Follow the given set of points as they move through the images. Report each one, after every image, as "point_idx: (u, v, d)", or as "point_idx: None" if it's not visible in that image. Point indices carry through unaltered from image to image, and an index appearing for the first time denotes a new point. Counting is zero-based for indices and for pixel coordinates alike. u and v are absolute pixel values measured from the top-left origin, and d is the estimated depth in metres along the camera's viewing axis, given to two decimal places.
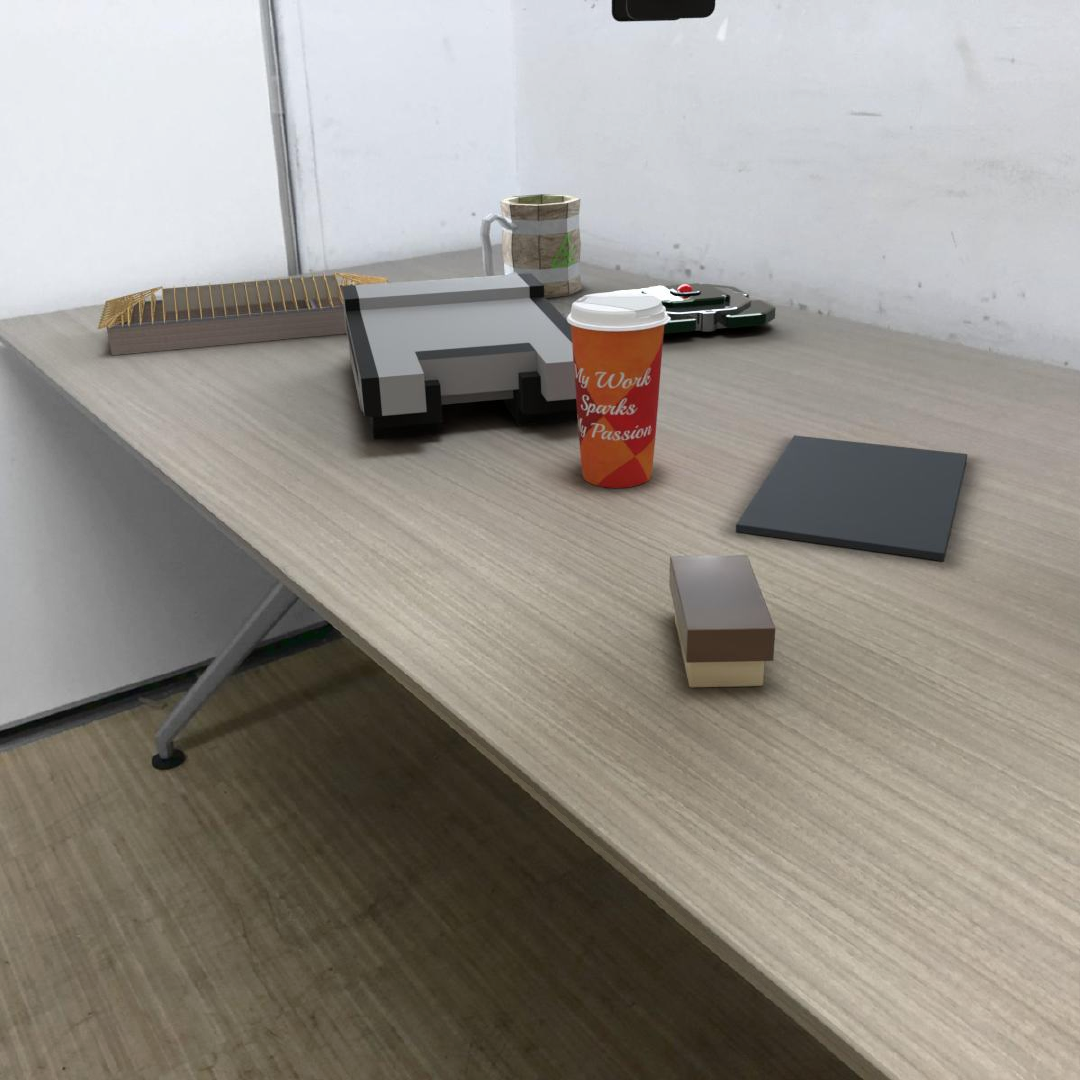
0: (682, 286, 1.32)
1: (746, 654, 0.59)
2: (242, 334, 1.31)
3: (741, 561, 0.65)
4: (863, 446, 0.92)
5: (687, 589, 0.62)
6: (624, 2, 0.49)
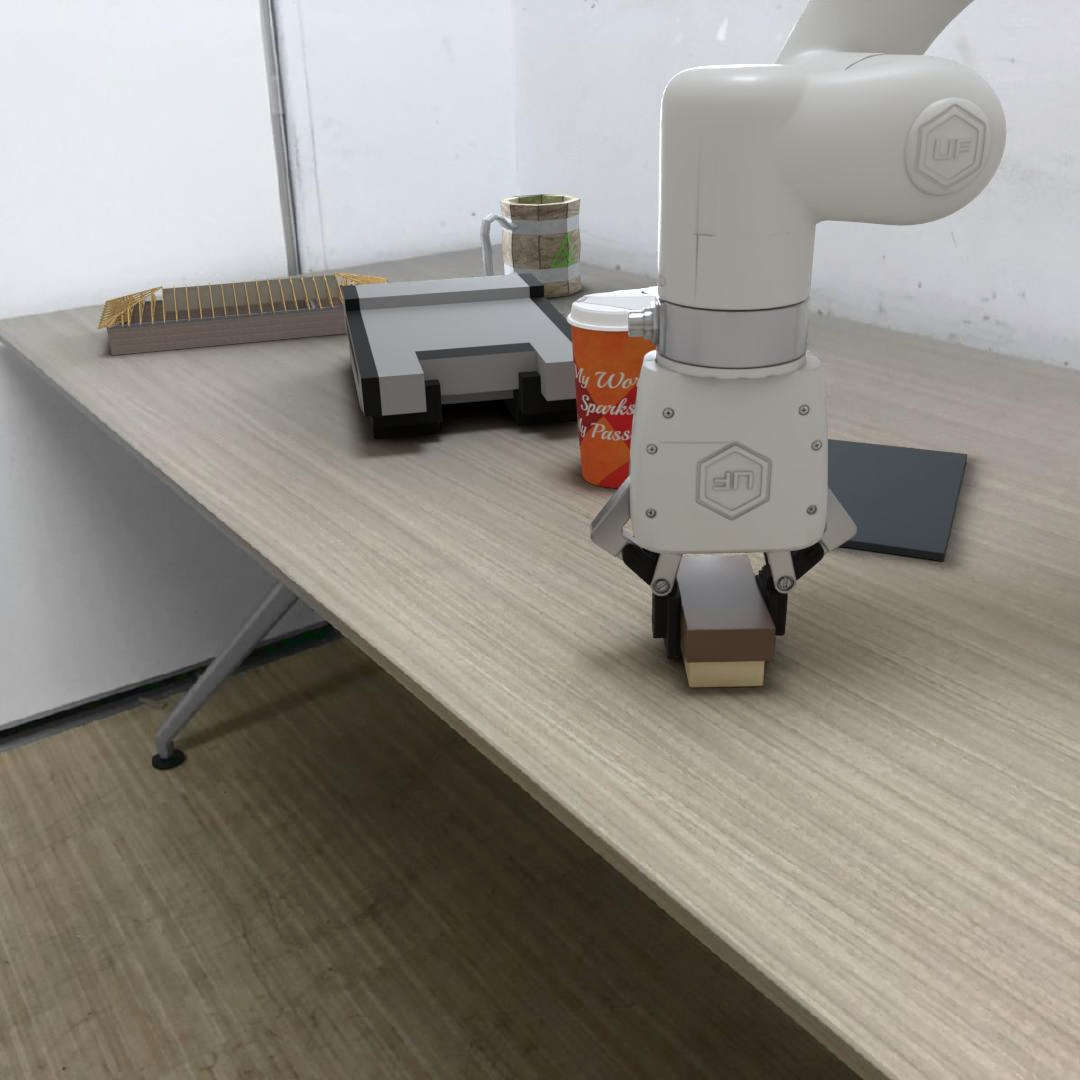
0: None
1: (746, 654, 0.59)
2: (242, 334, 1.31)
3: (741, 561, 0.65)
4: (863, 446, 0.92)
5: (687, 589, 0.62)
6: None
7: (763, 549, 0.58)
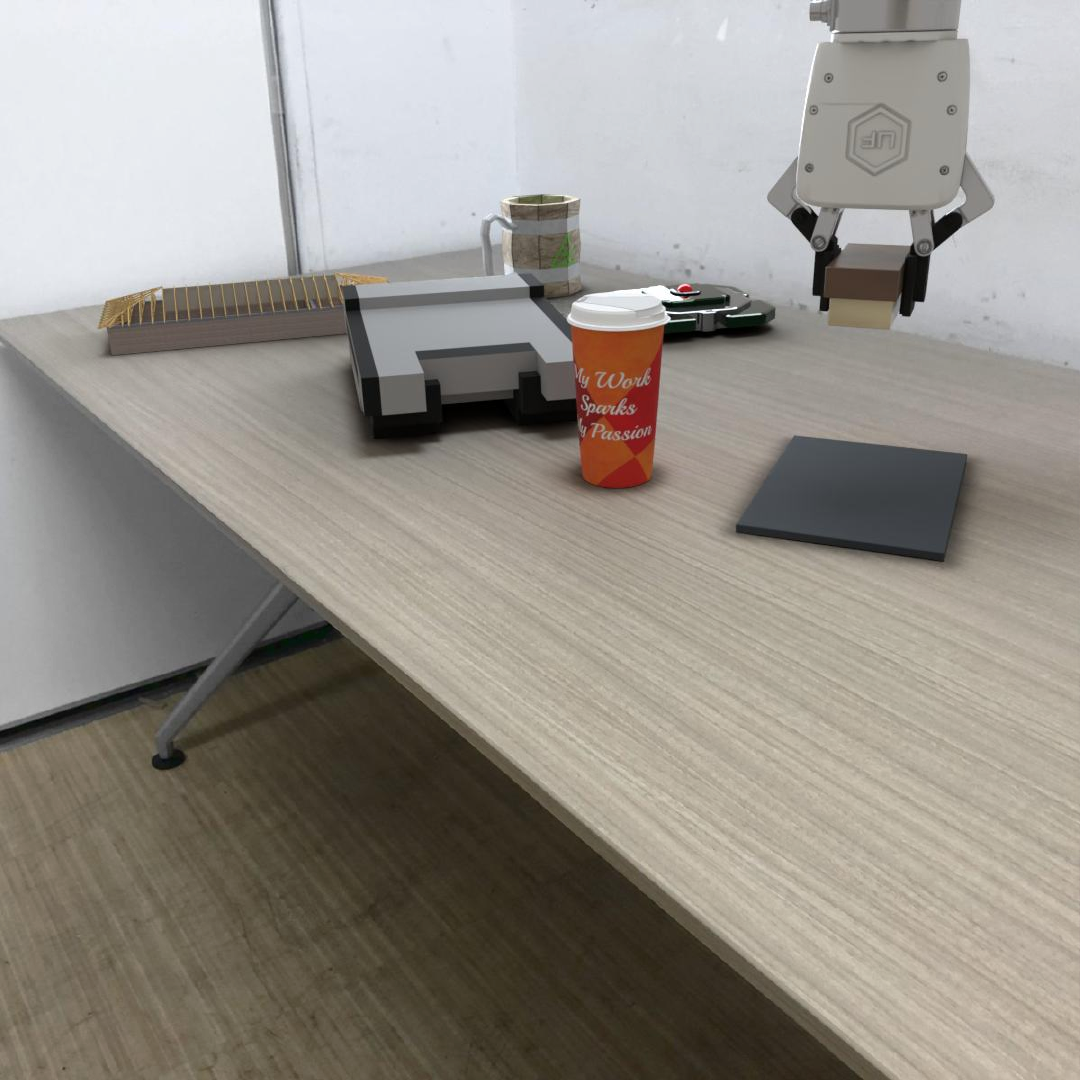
0: (682, 286, 1.32)
1: (873, 293, 0.71)
2: (242, 334, 1.31)
3: (906, 247, 0.77)
4: (863, 446, 0.92)
5: (845, 254, 0.75)
6: None
7: (900, 205, 0.70)
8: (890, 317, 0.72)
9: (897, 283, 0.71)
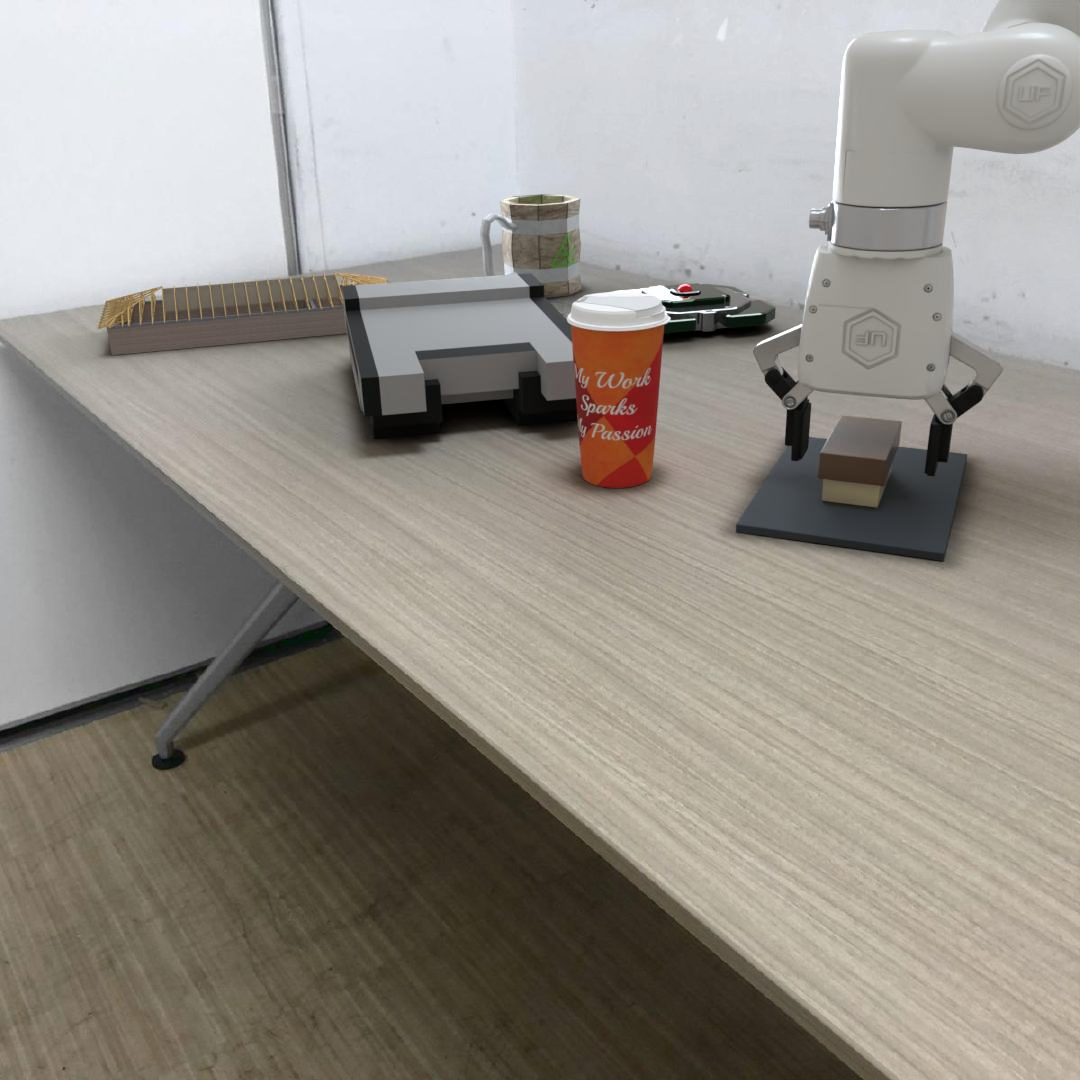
0: (682, 286, 1.32)
1: (862, 478, 0.79)
2: (242, 334, 1.31)
3: (893, 424, 0.85)
4: None
5: (838, 433, 0.83)
6: None
7: (891, 395, 0.78)
8: (878, 497, 0.80)
9: (884, 470, 0.78)
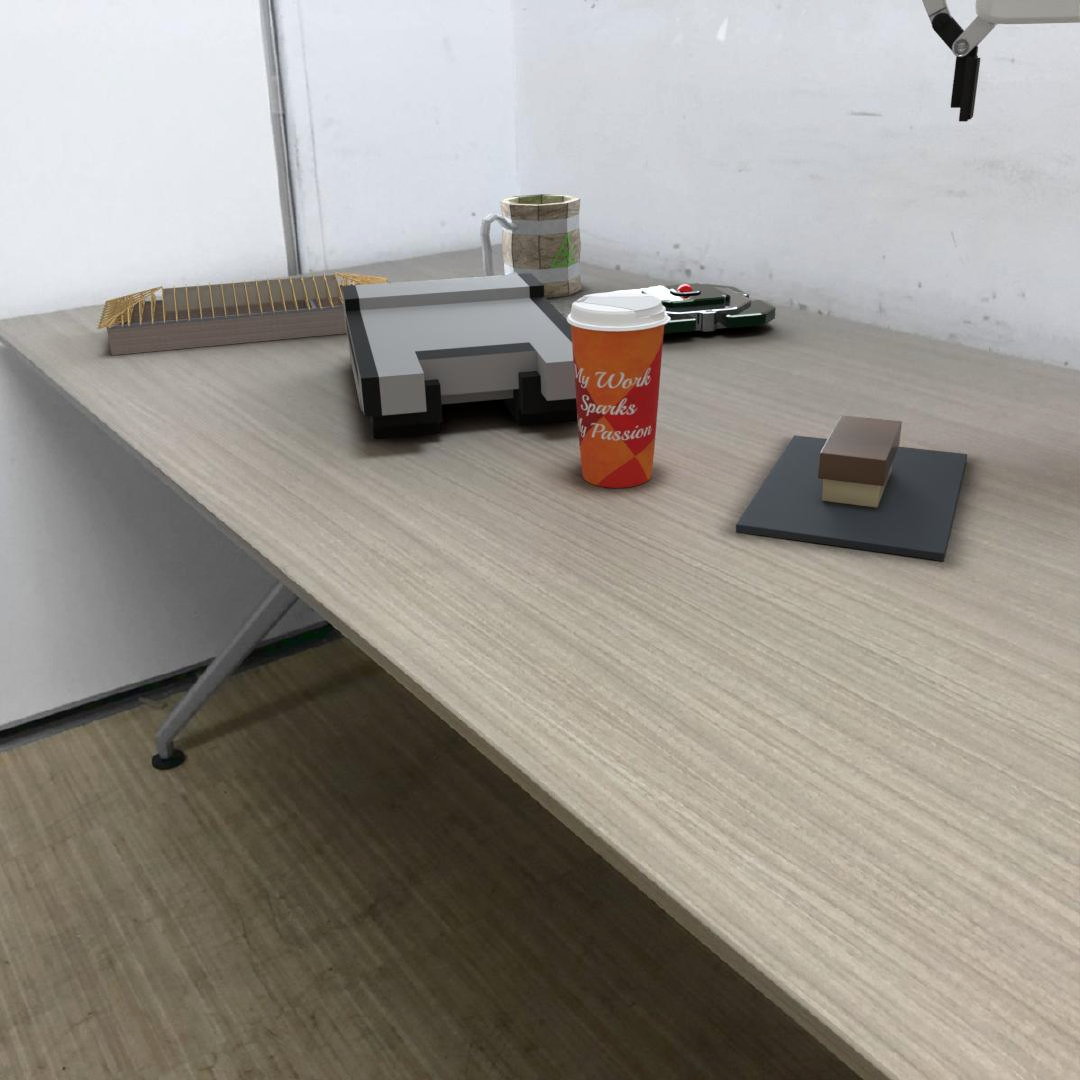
0: (682, 286, 1.32)
1: (862, 478, 0.79)
2: (242, 334, 1.31)
3: (893, 424, 0.85)
4: None
5: (838, 433, 0.83)
6: None
7: None
8: (878, 497, 0.80)
9: (884, 470, 0.78)
